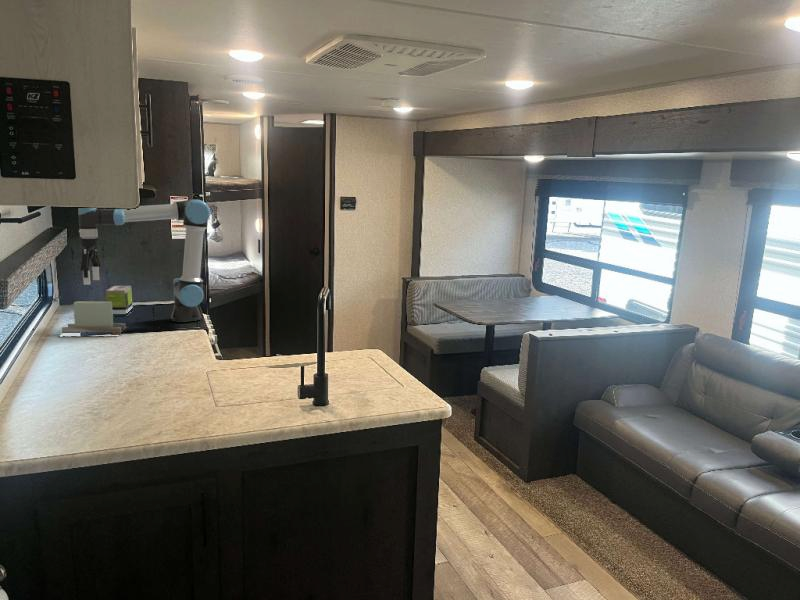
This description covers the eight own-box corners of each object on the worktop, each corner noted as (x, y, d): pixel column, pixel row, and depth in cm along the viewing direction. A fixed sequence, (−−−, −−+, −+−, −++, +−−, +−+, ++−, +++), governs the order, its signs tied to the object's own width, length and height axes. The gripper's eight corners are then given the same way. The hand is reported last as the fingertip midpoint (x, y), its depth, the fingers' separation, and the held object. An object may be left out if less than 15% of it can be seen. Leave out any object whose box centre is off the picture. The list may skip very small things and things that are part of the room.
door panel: (78, 329, 295) (76, 301, 293) (113, 329, 298) (111, 301, 295) (75, 331, 291) (73, 302, 289) (111, 331, 294) (109, 302, 292)
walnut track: (72, 328, 301) (71, 321, 301) (128, 328, 306) (127, 321, 305) (58, 337, 284) (58, 330, 283) (118, 336, 288) (117, 329, 288)
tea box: (114, 311, 345) (113, 285, 342) (133, 311, 347) (132, 285, 344) (106, 316, 330) (105, 289, 328) (126, 316, 332) (125, 289, 329)
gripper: (89, 235, 298) (91, 278, 302) (70, 239, 274) (74, 286, 278) (105, 235, 299) (107, 278, 303) (88, 240, 275) (91, 286, 279)
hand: (91, 282), depth 290 cm, fingers open, 13 cm apart
